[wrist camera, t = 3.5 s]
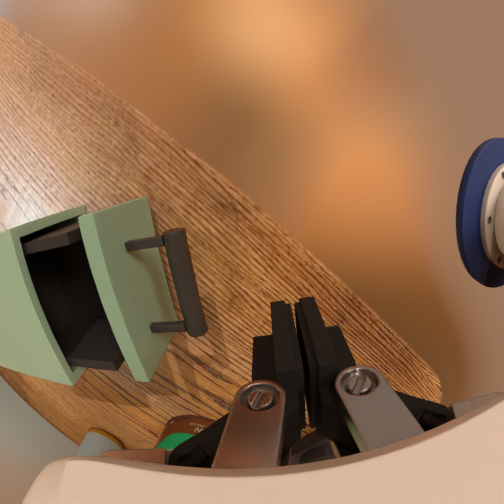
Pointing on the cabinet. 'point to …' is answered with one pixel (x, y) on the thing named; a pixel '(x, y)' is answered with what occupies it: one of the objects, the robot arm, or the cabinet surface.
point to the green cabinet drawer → (114, 288)
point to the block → (311, 449)
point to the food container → (181, 430)
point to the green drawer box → (30, 308)
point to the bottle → (98, 443)
